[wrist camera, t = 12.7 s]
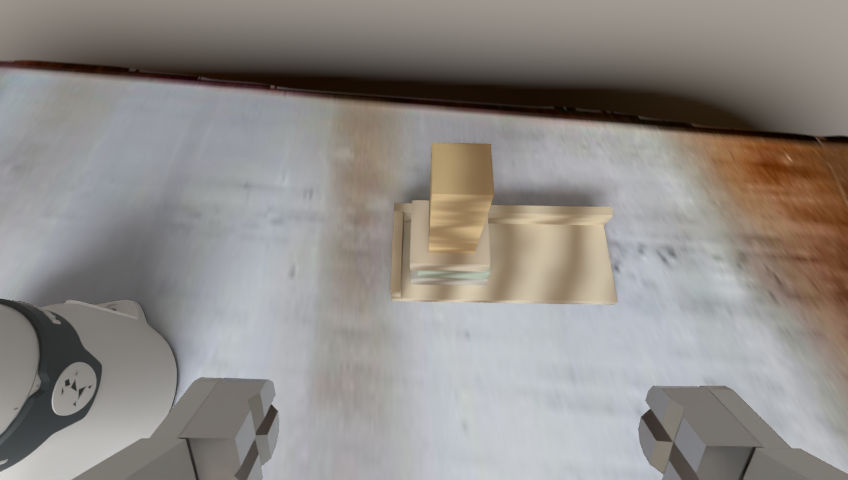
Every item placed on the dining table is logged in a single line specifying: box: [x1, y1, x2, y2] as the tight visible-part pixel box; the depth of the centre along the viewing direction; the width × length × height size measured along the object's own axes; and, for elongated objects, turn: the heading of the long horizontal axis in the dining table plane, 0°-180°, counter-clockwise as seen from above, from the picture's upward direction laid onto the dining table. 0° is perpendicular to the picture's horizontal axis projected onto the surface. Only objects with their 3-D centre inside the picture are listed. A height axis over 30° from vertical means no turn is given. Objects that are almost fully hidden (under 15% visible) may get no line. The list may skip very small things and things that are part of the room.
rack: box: [390, 203, 618, 305], centre depth 44 cm, size 24×10×4 cm, turn 89°
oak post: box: [428, 143, 494, 253], centre depth 34 cm, size 4×4×11 cm
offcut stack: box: [410, 200, 490, 286], centre depth 42 cm, size 8×7×6 cm
